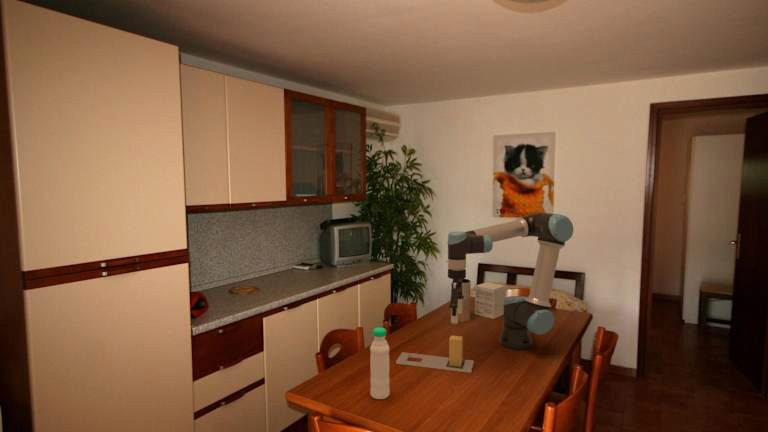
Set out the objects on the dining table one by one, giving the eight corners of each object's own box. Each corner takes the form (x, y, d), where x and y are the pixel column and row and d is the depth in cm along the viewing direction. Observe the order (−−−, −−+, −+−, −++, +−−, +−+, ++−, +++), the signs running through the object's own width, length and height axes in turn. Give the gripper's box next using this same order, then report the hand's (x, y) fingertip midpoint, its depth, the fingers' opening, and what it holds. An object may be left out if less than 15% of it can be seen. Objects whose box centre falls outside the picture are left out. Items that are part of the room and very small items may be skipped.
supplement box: (486, 309, 268) (486, 281, 267) (505, 314, 259) (506, 285, 257) (474, 314, 259) (474, 285, 257) (493, 319, 249) (494, 289, 248)
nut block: (462, 363, 188) (462, 336, 187) (460, 368, 183) (461, 340, 182) (450, 362, 189) (451, 335, 188) (449, 367, 185) (449, 339, 184)
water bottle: (369, 391, 164) (369, 326, 162) (388, 390, 164) (388, 325, 163) (370, 400, 157) (370, 332, 155) (390, 399, 157) (390, 332, 156)
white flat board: (473, 363, 189) (473, 360, 189) (471, 372, 179) (471, 369, 179) (402, 354, 198) (402, 352, 198) (396, 363, 189) (396, 360, 189)
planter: (473, 319, 249) (473, 280, 247) (463, 323, 242) (464, 283, 240) (458, 315, 256) (458, 277, 254) (448, 319, 249) (449, 280, 247)
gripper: (452, 262, 196) (452, 309, 198) (443, 274, 172) (442, 326, 174) (469, 263, 194) (468, 310, 196) (462, 275, 170) (461, 328, 172)
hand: (456, 318), depth 185 cm, fingers open, 13 cm apart
